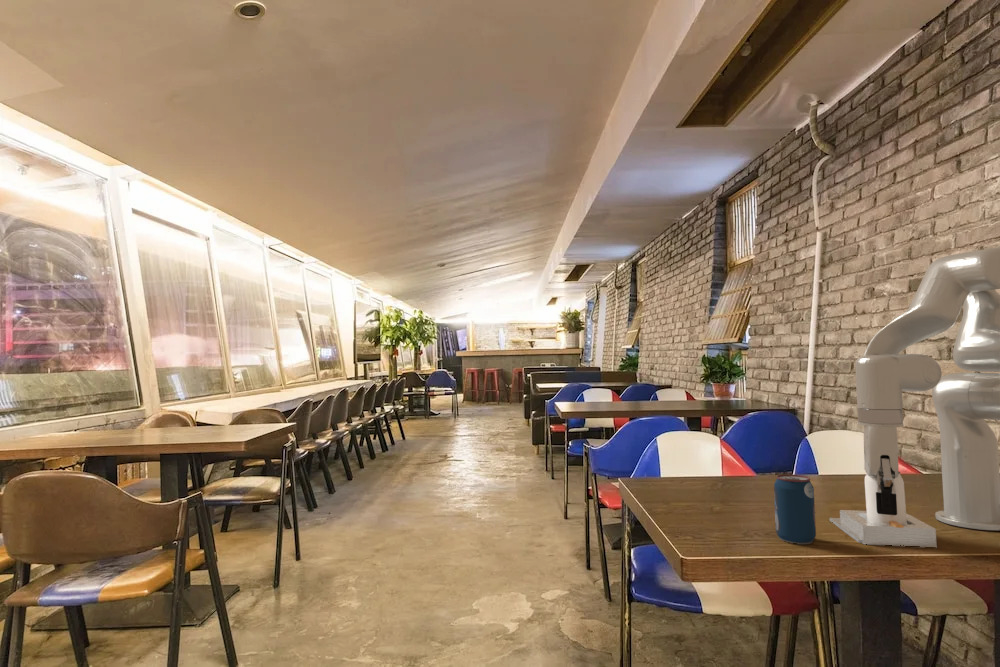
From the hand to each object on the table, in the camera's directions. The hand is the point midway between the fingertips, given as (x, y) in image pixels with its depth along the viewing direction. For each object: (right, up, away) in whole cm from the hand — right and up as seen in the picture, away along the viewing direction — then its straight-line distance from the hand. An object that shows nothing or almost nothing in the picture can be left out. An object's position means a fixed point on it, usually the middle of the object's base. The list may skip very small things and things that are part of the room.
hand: (884, 509), depth 113 cm
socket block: (0, -5, +2) cm, 6 cm away
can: (0, -5, 0) cm, 5 cm away
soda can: (-18, -6, -2) cm, 19 cm away
